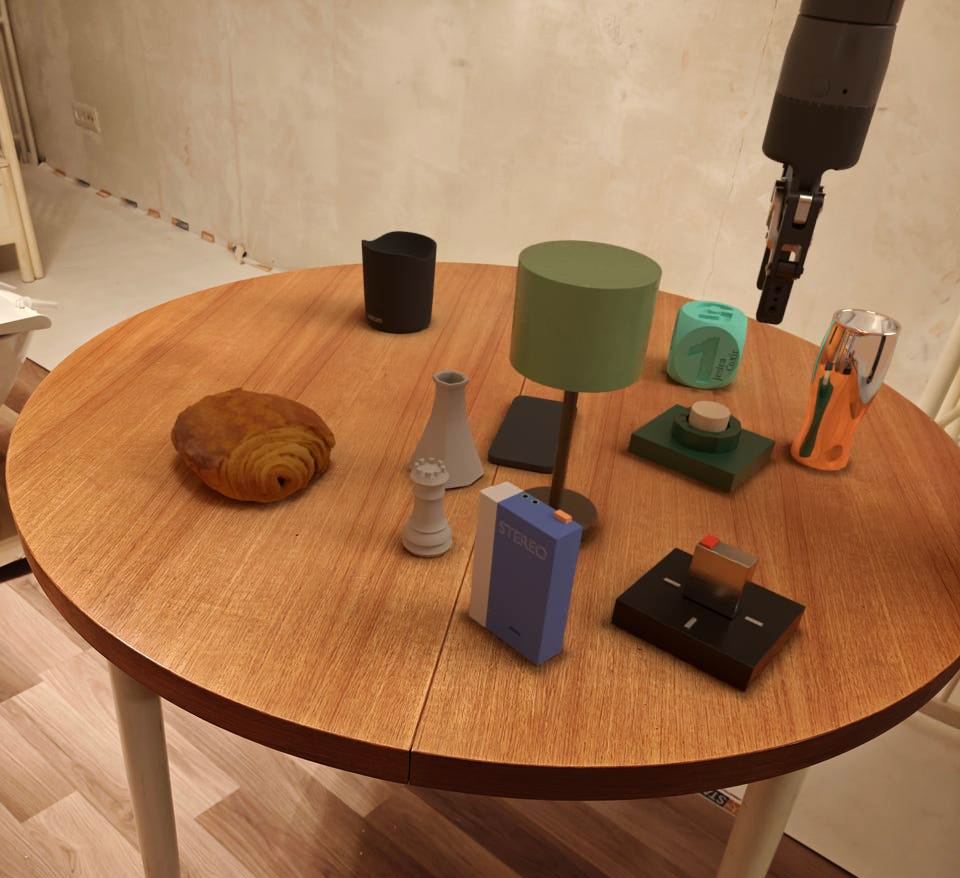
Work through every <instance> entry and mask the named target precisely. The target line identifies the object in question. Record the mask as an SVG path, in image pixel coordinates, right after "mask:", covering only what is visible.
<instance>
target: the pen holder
mask: <svg viewBox="0 0 960 878" xmlns="http://www.w3.org/2000/svg"><path fill="white" fill-rule="evenodd" d="M360 241H361V261H362V281H363V298H364V299H363V300H364V313H365V314H364V316H365V319H366V321H367V322H368V324H369V325H370V326H371V327H373V328H374V329H376V330H379V331H383V332H387V333H393V334H394V333H395V334H406V333H415V332H419V331H423V330H425V329H426V328H427V327H428V326H429V325H430V324H431V321H432V316H433V315H432V314H433V305H434V304H433V303H434V292H435V291H434V290H435V276H436V264H437V263H436V262H437V248H438V244H437V241H435V239H433V238H432V237H429V236H427V235H424V234H421V233H417V232H412V231H406V230H405V231H404V230H394V231H389V232H386V233H384V234H382V235H380V236H378V237H377V238H374V239H372V240H366V239H361V240H360Z"/></svg>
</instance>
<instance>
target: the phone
mask: <svg viewBox="0 0 960 878" xmlns="http://www.w3.org/2000/svg"><path fill="white" fill-rule="evenodd" d="M562 404H563V401H561V400H555V399H548V398H543V397H537V396H531V395H525V394H524V395H522V394H521V395H516V396H515V397H513V400H512V401H511V404H510V405H509V408H508V410H507V412H506V414H505V416H504V418H503V420H502V422H501V424H500V426H499V428H498V430H497V432H496V434H495V437H494V438H493V440H492V443H491V445H490V447H489V449H488V452H487V459H488V461H489V462H491V463H493V464H496V465H501V466H505V467H511V468H517V469H522V470H529V471H534V472H539V473H544V474H545V473H546V474H550V473H553V468H554V461H555V454H556V447H557V440H558V433H559V426H560V419H561V411H562ZM577 414H578V406H576V413H575V420H576V418H577ZM575 420H574V422H575Z"/></svg>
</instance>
